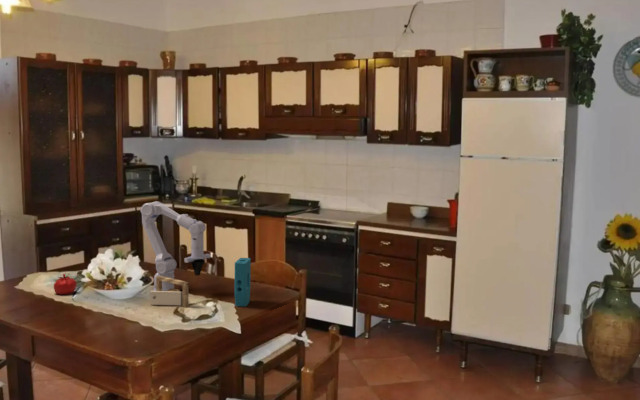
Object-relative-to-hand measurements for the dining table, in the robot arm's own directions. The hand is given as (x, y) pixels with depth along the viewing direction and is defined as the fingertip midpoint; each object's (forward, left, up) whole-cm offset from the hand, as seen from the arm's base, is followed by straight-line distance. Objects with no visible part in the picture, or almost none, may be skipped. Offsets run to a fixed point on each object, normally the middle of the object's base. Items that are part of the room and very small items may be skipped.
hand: (197, 275), depth 289 cm
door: (+3, -22, -9) cm, 24 cm away
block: (+27, +2, -10) cm, 29 cm away
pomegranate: (-50, -37, -10) cm, 63 cm away
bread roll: (+1, -16, -10) cm, 19 cm away
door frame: (+2, -17, -9) cm, 20 cm away
